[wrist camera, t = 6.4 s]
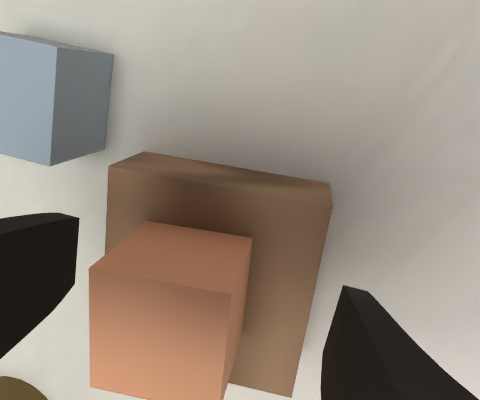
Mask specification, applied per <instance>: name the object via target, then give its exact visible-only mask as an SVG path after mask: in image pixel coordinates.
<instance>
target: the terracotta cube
mask: <svg viewBox="0 0 480 400" xmlns="http://www.w3.org/2000/svg"><path fill="white" fill-rule="evenodd" d="M252 242H253V238H250V237H244V236H238V235H231V234H225V233H219V232H213V231H206V230H200V229H194V228H188V227H181V226H175V225H169V224H163V223H156V222H150V221H145V222H143V223H142V224H141V225H140V226H139V227H138V228H136V229H135V230H134V231H133V232H132V233H130V234H129V235H128V236H127V237H126V238H124V239H123V240H122V241H121V242H120V243H119V244H117V245H116V246H115V247H114V248H113V249H111V250H110V251H109V252H108V253H107V254H105V255H104V256H103V257H102V258H101V259H100V260H98V261H97V262H96V263H95V264H94V265H92V266H91V267H90V268H89V321H90V387H92V388H97V389H101V390H106V391H110V392H115V393H119V394H124V395H128V396H133V397H138V398H142V399H147V400H223V398H224V395H225V391H226V388H227V384H228V380H229V377H230V373H231V370H232V366H233V363H234V359H235V356H236V352H237V349H238V345H239V342H240V338H241V335H242V326H243V318H244V310H245V301H246V293H247V284H248V276H249V267H250V259H251V250H252Z"/></svg>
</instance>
